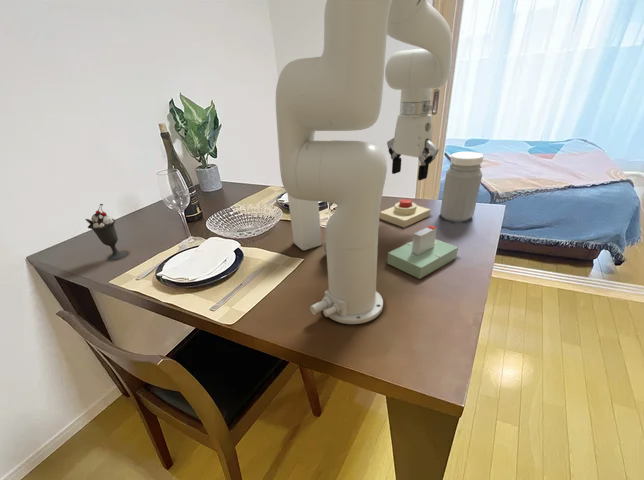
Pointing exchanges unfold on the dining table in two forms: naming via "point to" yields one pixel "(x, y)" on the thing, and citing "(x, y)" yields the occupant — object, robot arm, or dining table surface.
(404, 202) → the button
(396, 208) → the button box
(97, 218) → the sundae
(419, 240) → the grey rectangular block
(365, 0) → the robot arm
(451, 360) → the dining table surface
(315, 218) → the milk
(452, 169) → the jar
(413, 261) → the panel
